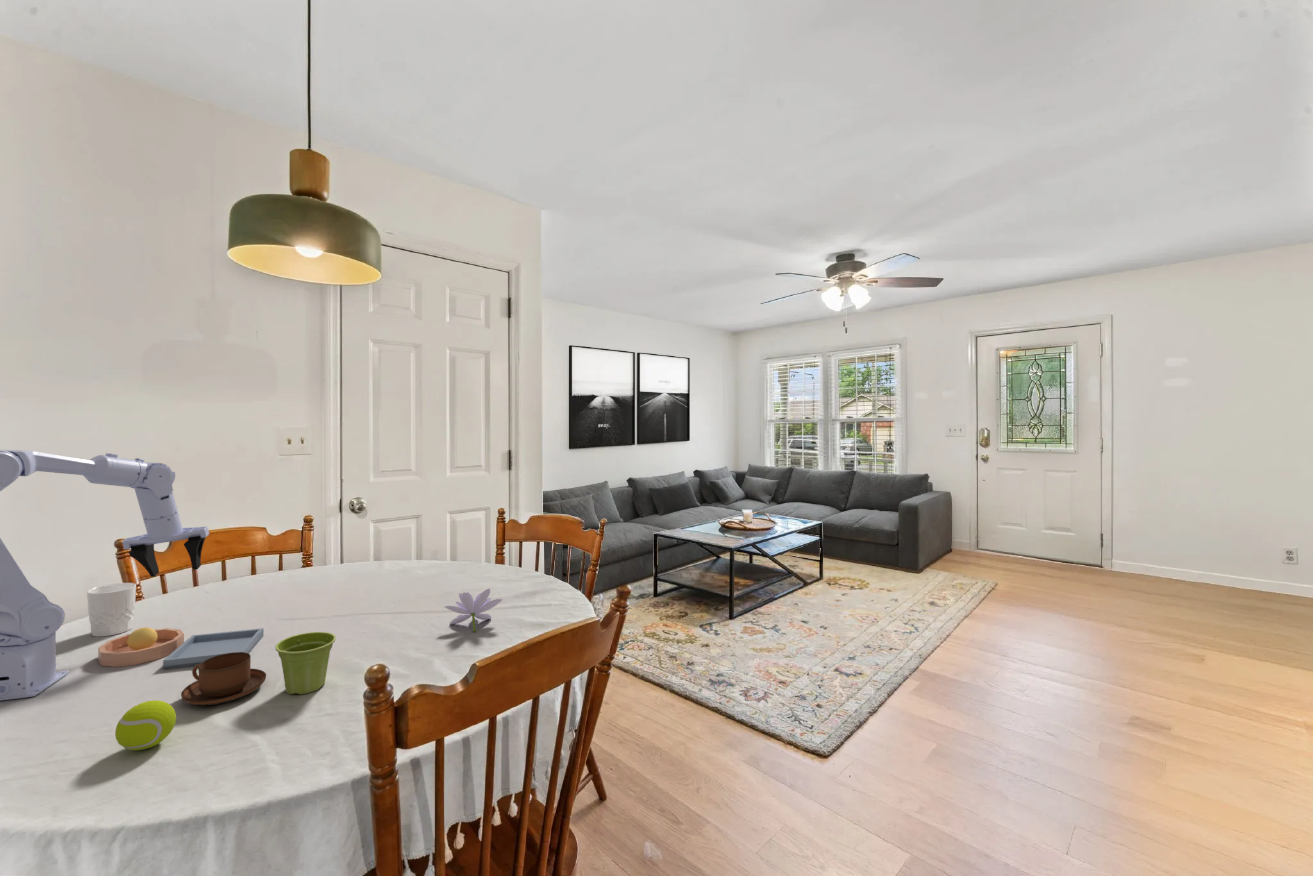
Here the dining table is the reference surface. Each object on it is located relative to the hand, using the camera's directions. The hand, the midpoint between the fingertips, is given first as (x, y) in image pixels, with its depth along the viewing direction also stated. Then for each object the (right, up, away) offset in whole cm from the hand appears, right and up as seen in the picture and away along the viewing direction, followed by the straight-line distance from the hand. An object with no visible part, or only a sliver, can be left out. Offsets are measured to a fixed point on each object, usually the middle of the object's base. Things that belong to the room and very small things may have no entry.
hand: (176, 571), depth 121 cm
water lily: (+64, -16, +11) cm, 67 cm away
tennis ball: (+31, -17, -40) cm, 53 cm away
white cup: (-16, -14, +2) cm, 22 cm away
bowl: (+1, -15, -9) cm, 17 cm away
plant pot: (+43, -17, -21) cm, 51 cm away
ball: (+1, -12, -9) cm, 15 cm away
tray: (+15, -15, -7) cm, 23 cm away
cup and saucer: (+30, -17, -24) cm, 42 cm away
